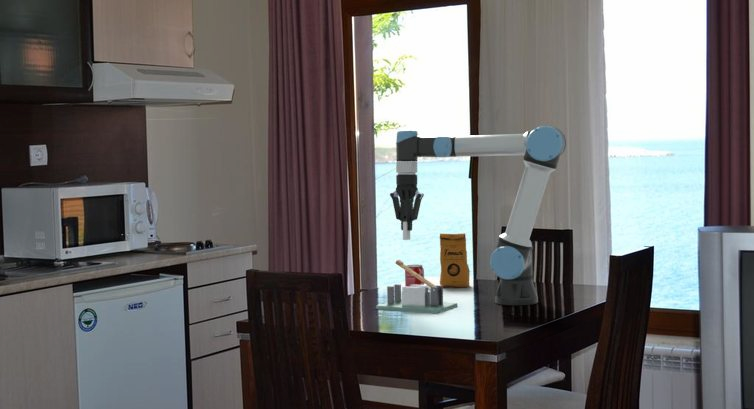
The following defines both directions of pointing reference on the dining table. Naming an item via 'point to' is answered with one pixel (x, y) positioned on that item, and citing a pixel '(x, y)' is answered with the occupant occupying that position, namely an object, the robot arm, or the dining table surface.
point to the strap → (414, 273)
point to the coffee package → (453, 261)
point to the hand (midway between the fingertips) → (406, 239)
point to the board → (398, 307)
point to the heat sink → (416, 295)
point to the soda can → (412, 279)
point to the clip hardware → (396, 293)
